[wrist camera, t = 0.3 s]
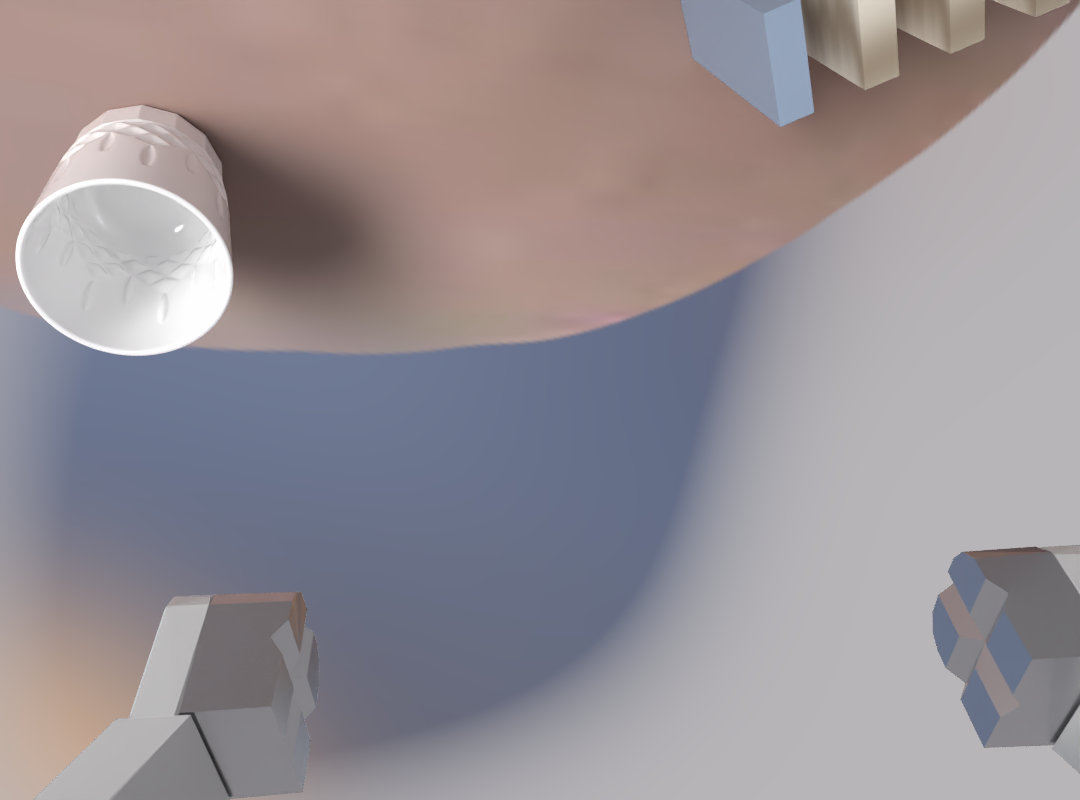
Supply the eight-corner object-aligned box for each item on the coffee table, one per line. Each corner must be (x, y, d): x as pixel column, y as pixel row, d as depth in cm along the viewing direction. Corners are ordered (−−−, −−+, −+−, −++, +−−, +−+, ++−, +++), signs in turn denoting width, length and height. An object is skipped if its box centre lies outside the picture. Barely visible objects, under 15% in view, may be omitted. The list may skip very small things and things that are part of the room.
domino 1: (672, -40, 44) (763, 13, 36) (702, -53, 44) (800, -2, 36) (692, 58, 47) (780, 127, 39) (721, 46, 47) (814, 112, 39)
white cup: (250, 118, 43) (250, 207, 35) (221, 261, 47) (215, 370, 39) (66, 69, 40) (22, 155, 32) (51, 227, 44) (8, 338, 36)
